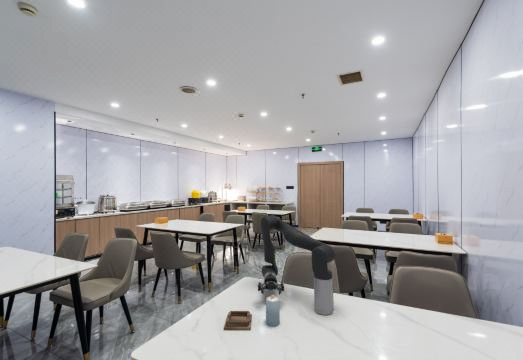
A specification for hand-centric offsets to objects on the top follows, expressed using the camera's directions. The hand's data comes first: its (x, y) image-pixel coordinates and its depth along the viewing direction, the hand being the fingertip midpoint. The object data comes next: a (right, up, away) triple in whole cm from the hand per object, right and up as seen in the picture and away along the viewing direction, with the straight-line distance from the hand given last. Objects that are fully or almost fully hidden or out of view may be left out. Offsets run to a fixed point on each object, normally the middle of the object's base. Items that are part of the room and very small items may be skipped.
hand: (271, 292), depth 126 cm
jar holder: (-16, -9, -12) cm, 22 cm away
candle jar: (0, -9, -12) cm, 15 cm away
